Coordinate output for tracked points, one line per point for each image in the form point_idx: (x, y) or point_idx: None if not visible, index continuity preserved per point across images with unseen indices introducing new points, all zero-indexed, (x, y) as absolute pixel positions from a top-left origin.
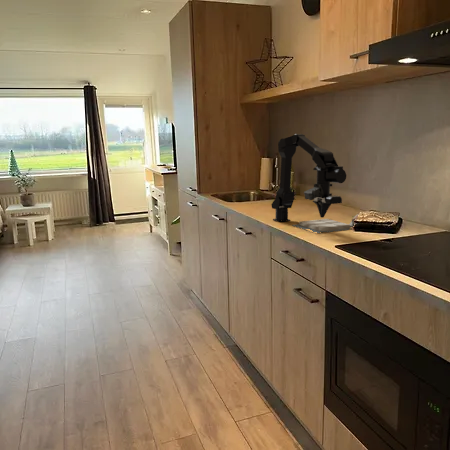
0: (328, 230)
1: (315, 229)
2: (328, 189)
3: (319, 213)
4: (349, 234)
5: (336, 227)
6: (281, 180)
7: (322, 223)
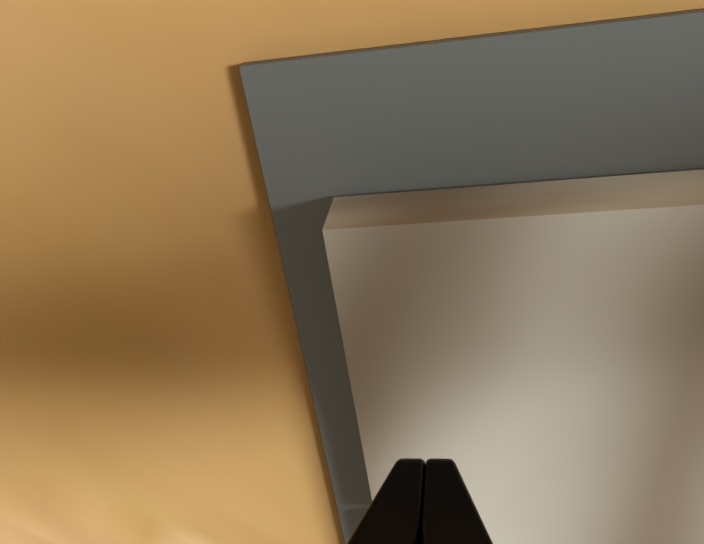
0: None
1: (494, 188)
2: None
3: (491, 540)
4: (106, 459)
5: None
6: None
7: (699, 476)
